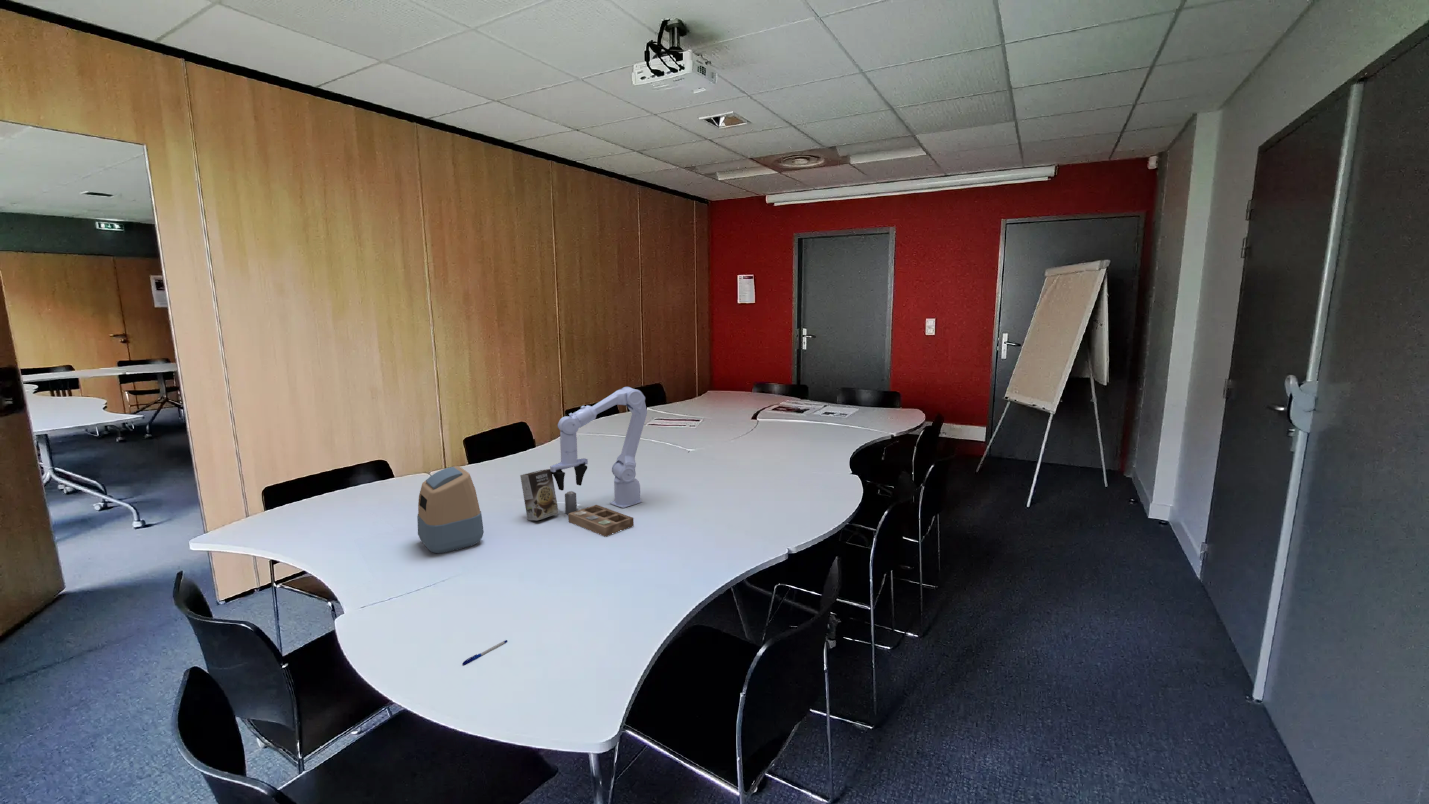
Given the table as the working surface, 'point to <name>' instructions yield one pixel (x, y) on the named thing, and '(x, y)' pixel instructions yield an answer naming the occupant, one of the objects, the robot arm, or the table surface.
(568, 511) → the plug
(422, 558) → the table surface
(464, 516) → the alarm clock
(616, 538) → the table surface
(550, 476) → the coffee box
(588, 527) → the socket board
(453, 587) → the table surface
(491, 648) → the ballpoint pen
